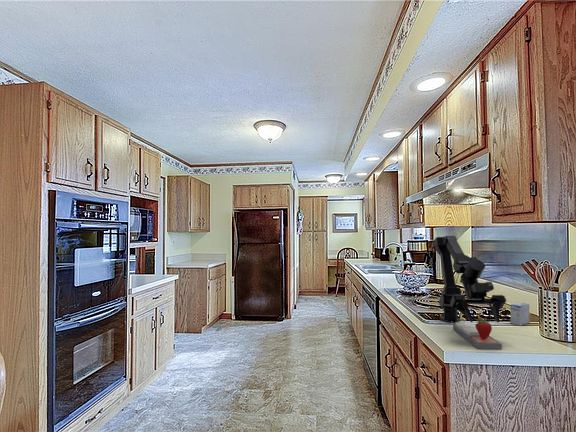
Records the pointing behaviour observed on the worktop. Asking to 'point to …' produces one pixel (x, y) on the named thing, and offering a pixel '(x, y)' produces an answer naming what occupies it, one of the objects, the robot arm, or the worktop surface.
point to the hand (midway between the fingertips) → (485, 321)
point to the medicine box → (519, 313)
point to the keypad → (470, 330)
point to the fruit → (484, 328)
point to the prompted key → (483, 340)
